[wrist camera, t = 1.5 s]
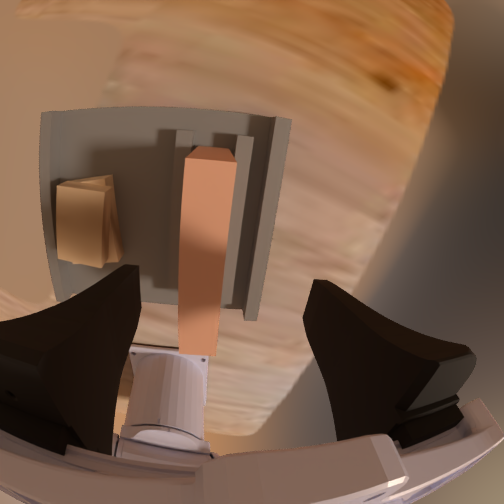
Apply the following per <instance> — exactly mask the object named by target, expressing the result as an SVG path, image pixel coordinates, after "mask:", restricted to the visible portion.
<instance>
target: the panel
mask: <svg viewBox="0 0 504 504" xmlns="http://www.w3.org/2000/svg"><path fill="white" fill-rule="evenodd" d="M236 168H237V161H236V160H235V158H234V156H233V155H232V153H231V151H230V150H229V149H228V148H219V147H208V146H198V147H197V148H196V149H195V150H193V151H192V152H191V153H190V154H189V155H188V156H187V157H186V158H185V167H184V178H183V191H182V205H181V221H180V242H179V275H178V333H179V354H188V355H204V356H216V348H217V337H218V326H219V316H220V306H221V296H222V286H223V277H224V267H225V258H226V249H227V240H228V232H229V223H230V215H231V207H232V199H233V191H234V183H235V175H236Z"/></svg>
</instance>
